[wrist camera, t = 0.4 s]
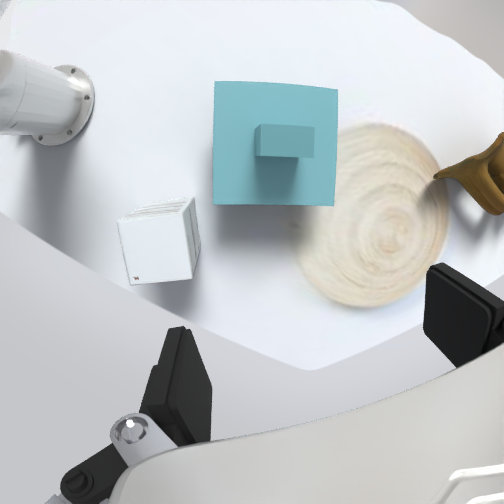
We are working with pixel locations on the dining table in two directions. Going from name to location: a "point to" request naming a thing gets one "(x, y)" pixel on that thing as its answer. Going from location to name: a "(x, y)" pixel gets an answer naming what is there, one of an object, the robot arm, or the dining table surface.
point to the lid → (274, 144)
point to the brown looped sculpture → (482, 176)
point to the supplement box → (160, 241)
